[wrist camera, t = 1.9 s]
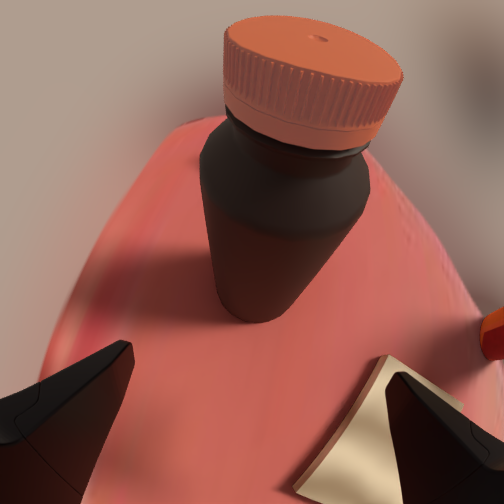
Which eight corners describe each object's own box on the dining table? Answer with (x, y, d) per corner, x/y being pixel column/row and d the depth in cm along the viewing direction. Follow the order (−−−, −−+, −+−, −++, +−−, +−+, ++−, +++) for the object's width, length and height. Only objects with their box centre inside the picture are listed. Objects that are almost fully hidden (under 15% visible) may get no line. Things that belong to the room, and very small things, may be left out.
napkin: (385, 517, 14) (392, 522, 12) (292, 486, 16) (295, 492, 15) (454, 404, 19) (464, 404, 18) (380, 355, 21) (389, 354, 20)
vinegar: (310, 279, 24) (444, 74, 6) (263, 340, 21) (409, 165, 3) (250, 235, 25) (281, 3, 7) (200, 289, 23) (131, 44, 5)
